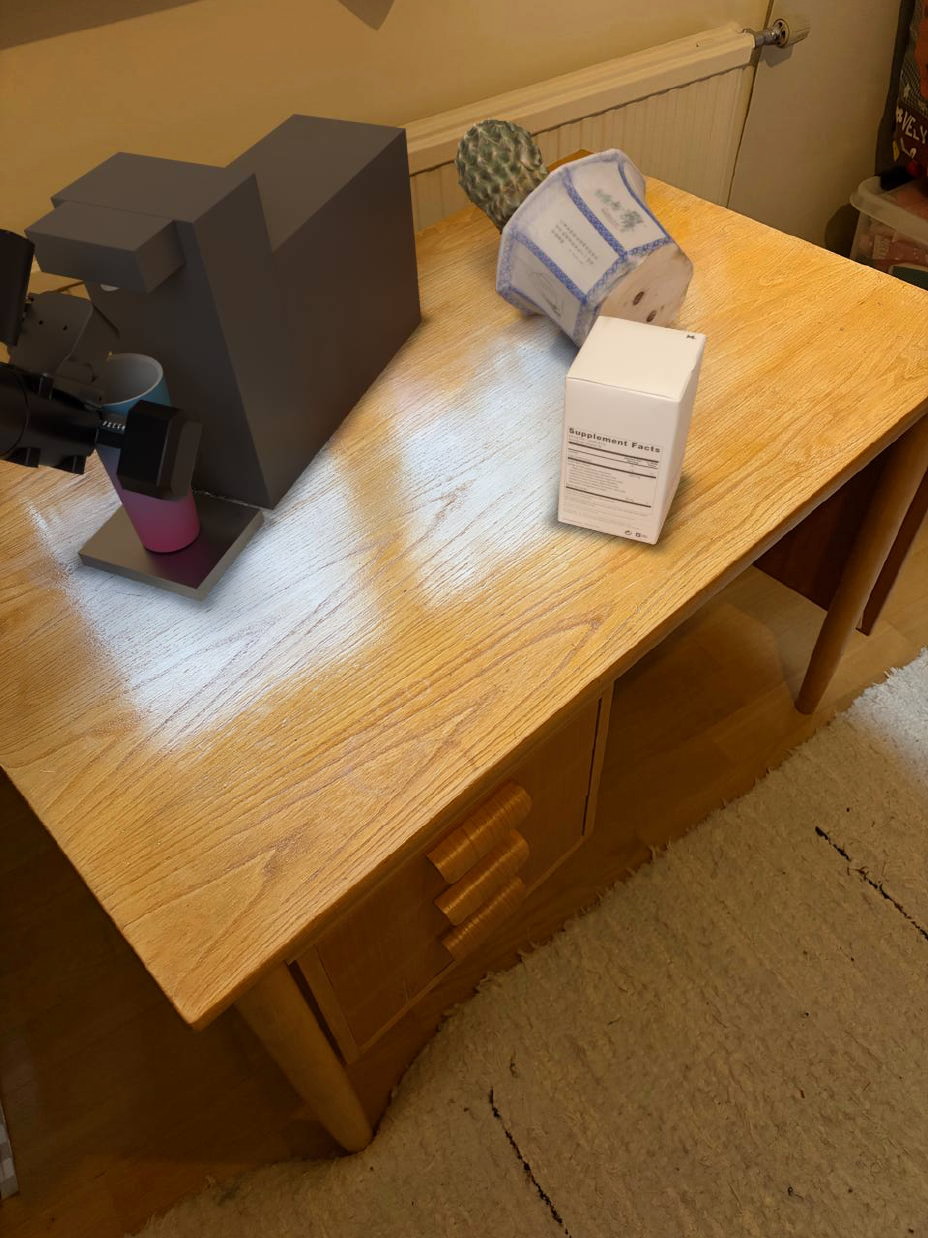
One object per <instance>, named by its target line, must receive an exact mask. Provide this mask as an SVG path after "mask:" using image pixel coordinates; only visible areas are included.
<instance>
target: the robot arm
mask: <svg viewBox="0 0 928 1238" xmlns="http://www.w3.org/2000/svg"><path fill="white" fill-rule="evenodd" d="M34 251H35V244H34V243H33V242H32V241H30V240H29V239H27V237H26V236H23V235H21V234H19V233H17V232H14V231H13V230H8V229H3V228H0V343H1V344H3V345H5V346H6V353H7V355H8V356H9V359H8V362H4V361H0V460H1V461H5V462H7V463H11V464H15V465H19V466H22V467H26V468H31V469H39V466H43V467H49V468H51V469H56V470H59V471H62V472H65V473H69V474H73V475H80V476H84V473H85V469H86V464H87V458H91V456H92V455H93V454H94V452H95V451H96V450H95V448H96V446H97V444H102V445H106V446H109V447H113V448H117V449H121V451H120V456H119V461H118V466H117V471H116V476H117V478H118V480H119V483H120V485H121V487H122V489H124V490H127V491H131V492H135V493H138V494H142V495H145V496H149V497H152V498H156V499H160V500H164V501H172V502H181V501H182V500H184V499H185V498H186V497H188V493H189V488H190V483H191V478H192V474H193V470H194V469H196V468H197V467H198V466H199V465H200V463H201V459H202V451H201V450H200V449H198V445H199V440H200V435H201V430H202V425H203V423H202V421H201V419H200V417H199V416H198V414H196V413H193V412H189V411H186V410H183V409H179V408H175V407H171V406H166V405H162V404H158V403H154V402H150V401H146V400H142V399H140V400H138V401H137V402H136V403H135V404H134V405H133V406H132V407H131V408H130V409H129V410H128V415H127V416H124V415H120V414H116V413H112V412H108V411H104V410H100V409H96V407H98V408H101V407H102V406H103V401H104V395H105V390H106V389H102V388H99V387H96V386H92V385H91V383H92V382H94V381H95V380H96V379H97V377H98V376H99V374H100V372H101V370H102V368H103V366H104V364H105V362H106V360H107V358H108V355H110V353H111V349H112V347H114V346H116V344H117V342H118V339H119V331H118V329H117V328H116V327H115V326H114V325H113V324H112V323H111V322H110V321H109V320H108V319H107V317H106V316H105V315H104V314H103V313H102V312H101V311H100V310H99V309H98V308H97V307H96V306H95V305H94V304H93V303H92V302H91V300H90V298H86V297H81V296H77V295H72V294H67V293H63V292H58V291H53V290H45V291H42V292H40V293H37V292H31V291H28V290H29V285H30V280H31V273H32V267H33V262H34V258H35V256H34ZM27 299H29V300H28V301H27ZM100 425H103V426H108V427H111V428H115V429H119V430H123V431H124V434H120V433H116V432H112V431H108V430H105V429H101V428H100Z"/></svg>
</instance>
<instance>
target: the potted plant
mask: <svg viewBox="0 0 928 1238" xmlns="http://www.w3.org/2000/svg"><path fill="white" fill-rule="evenodd" d="M453 162H454V164H455V169H456V170H457V172H458V181H457V183H458V185H459V186H460V188H461V189H463V191H464V192H465V195H466V196H467V199H468V200H469V201H470V203H473V204H474V205H475V206H476V207H477V208H478V209H480V210H481V211H483V212H484V213H485V214H486V216H487V218H488V219H490V221H492V223H493V225H494V226H495V229H496V230H498V231H499V235H501V237H500V241H499V246H498V249H497V261H496V267H495V280H494V281H495V282H494V288H495V289H494V290H495V292H496V294H497V295H498V296H499V297H501V298H502V300H503V301H505V303H507V304H510V305H511V306H513V307H514V308H515V309H516V310H518V311H519V312H520V313H522V314H524V315H526V316H533V315H536V314H539V315H543V316H545V317H546V318H548V319H549V320H550V321H551V322H552V324H554V325H555V326H556V327H557V328H559V329H560V330H562V331H563V333H565V335H567V336H568V337H569V339H570V340H571V341H572V342H573V344H574V345H575V346H576V347H577V348H578V349H579V350H580V349H581V347H582V346H583V344H584V342H585V340H586V338H587V337H588V335H589V333H590V331H591V329H592V328H593V326H594V324H595V322H596V320H597V319H598V317H599V316H604V317H613V318H619V319H624V320H629V321H634V322H638V323H643V324H648V325H653V326H659V327H665V328H666V327H668V326H669V325H670V324H671V323H673V322H674V321H675V319H677V316H678V314H679V312H680V311H681V309H682V306H683V305H684V302H685V300H686V296H687V293H688V290H689V286H690V284H691V282H692V279H693V276H694V264H693V263H692V261H691V260H690V257H688V255H687V254H686V252H685V251H684V250H683V249H682V248H681V247H680V245H679V244H678V243H677V241H676V240H675V239H674V238H673V236H672V235H671V234H670V232H669V231H668V230H667V229H666V228H665V227H664V225H663V224H662V223H661V222H660V220H658V218H657V217H656V216H655V214H654V212H653V211H652V209H651V207H650V206H649V205H648V201H647V199H646V191H647V179H646V177H645V176H644V175H643V174H642V172H641V171H640V170H639V169H638V167H636V165H635V163H634V162H633V161H632V160H631V159H630V158H629V156H628V155H627V154H626V153H625V152H623V151H622V149H617V148H609V149H607V150H604V151H601V152H596V153H592V154H589V155H587V156H586V155H585V156H584V157H581V158H578V159H575V160H572V161H569V162H566V163H564V164H562V165H560V166H558V167H556V168H555V169H554V170H552V171H551V172H550V171H549V168H548V167H547V166H546V164H545V162H544V159H543V155H542V152H541V150H540V148H539V146H538V144H537V143H535V142H533V140H532V136H531V131H529V130H527V129H524V128H523V127H522V126H518V125H517V124H516V123H514V122H511V121H509V120H507V119H505V120H498V119H497V118H491V117H488V118H486V119H485V120H482V121H479V122H478V123H476V122H473V124H472V126H471V128H470V129H468V130H464V133H463V137H462V139H461V140H460V141H459V142H458V144H457V153H456V156H455V158H454V160H453Z"/></svg>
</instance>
